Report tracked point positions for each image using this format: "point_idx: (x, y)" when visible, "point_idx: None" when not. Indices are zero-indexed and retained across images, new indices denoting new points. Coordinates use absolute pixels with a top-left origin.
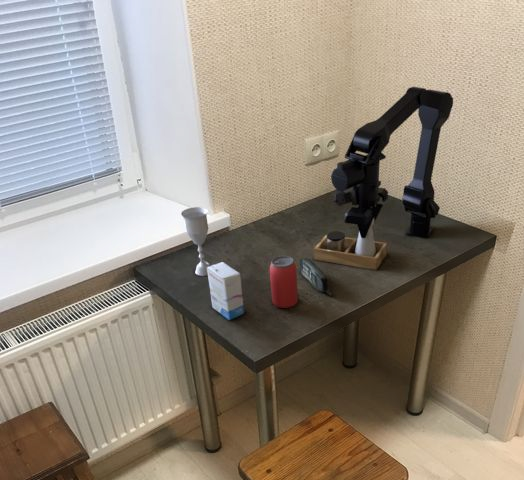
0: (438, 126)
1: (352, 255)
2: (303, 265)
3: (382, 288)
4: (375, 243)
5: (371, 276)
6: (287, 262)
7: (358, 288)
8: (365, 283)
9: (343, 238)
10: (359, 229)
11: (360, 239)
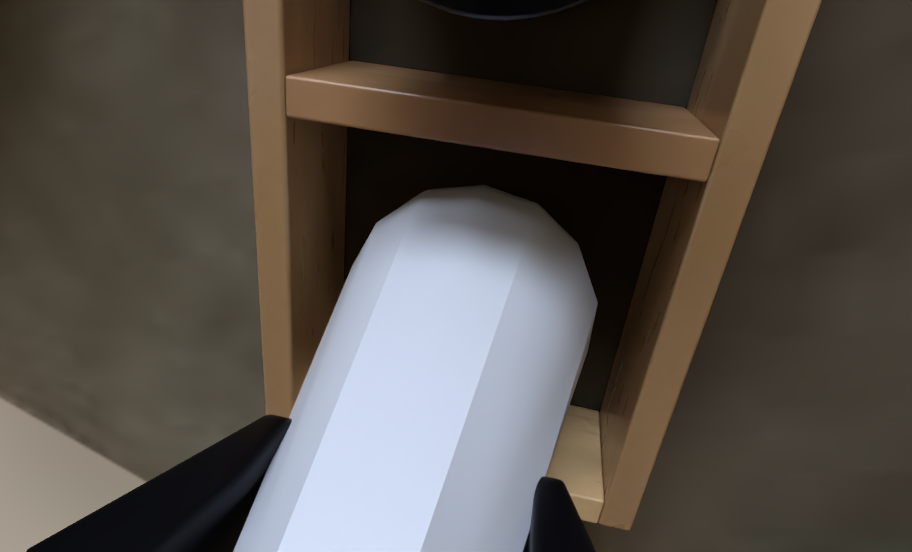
0: None
1: (257, 200)
2: None
3: (105, 420)
4: (629, 418)
5: (215, 345)
6: None
7: (21, 273)
8: (106, 313)
9: (444, 9)
10: (72, 539)
11: (314, 370)
